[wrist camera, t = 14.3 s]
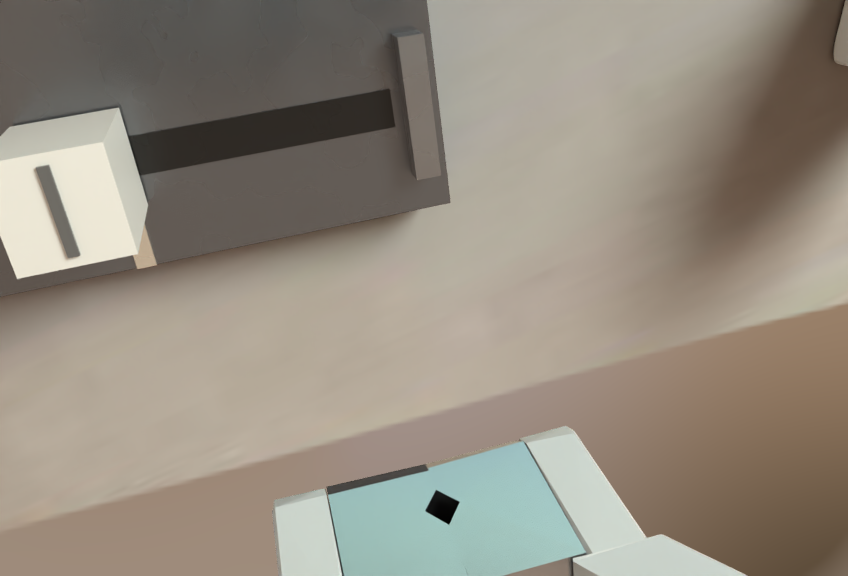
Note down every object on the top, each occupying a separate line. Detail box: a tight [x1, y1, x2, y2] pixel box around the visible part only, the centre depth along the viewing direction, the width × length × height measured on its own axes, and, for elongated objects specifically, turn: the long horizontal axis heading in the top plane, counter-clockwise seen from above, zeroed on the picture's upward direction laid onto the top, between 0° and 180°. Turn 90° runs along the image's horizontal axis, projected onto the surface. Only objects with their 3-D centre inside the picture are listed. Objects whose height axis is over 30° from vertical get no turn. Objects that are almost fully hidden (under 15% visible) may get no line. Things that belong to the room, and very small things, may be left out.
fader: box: [0, 108, 148, 279], centre depth 21 cm, size 3×3×4 cm
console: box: [0, 0, 450, 297], centre depth 23 cm, size 14×20×3 cm
